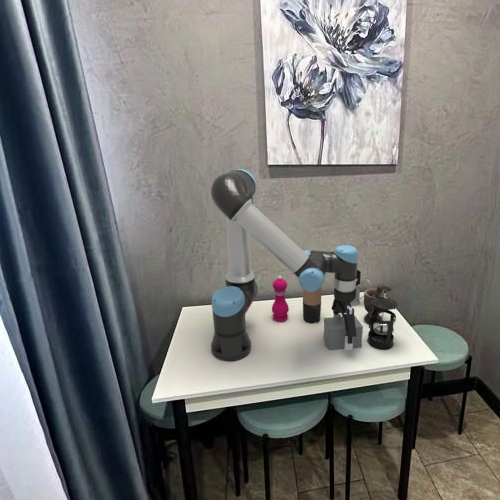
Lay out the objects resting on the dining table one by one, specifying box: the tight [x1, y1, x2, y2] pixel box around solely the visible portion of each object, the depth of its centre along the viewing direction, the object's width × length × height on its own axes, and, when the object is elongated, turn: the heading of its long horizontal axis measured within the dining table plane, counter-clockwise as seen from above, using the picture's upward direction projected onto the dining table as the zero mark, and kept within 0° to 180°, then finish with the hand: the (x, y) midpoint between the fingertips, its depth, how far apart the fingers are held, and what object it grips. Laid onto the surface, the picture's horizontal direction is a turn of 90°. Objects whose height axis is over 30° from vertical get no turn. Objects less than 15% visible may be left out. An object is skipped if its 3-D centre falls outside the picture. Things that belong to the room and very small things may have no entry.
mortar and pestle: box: [363, 283, 387, 324], centre depth 144 cm, size 12×9×20 cm
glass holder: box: [350, 269, 372, 307], centre depth 160 cm, size 9×14×15 cm, turn 40°
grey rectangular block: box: [323, 314, 364, 351], centre depth 133 cm, size 12×8×9 cm, turn 95°
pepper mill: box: [271, 275, 290, 323], centre depth 150 cm, size 7×7×20 cm
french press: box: [366, 285, 398, 351], centre depth 131 cm, size 12×9×23 cm
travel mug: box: [302, 285, 323, 324], centre depth 148 cm, size 8×8×20 cm
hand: (342, 338), depth 134 cm, fingers open, 13 cm apart
